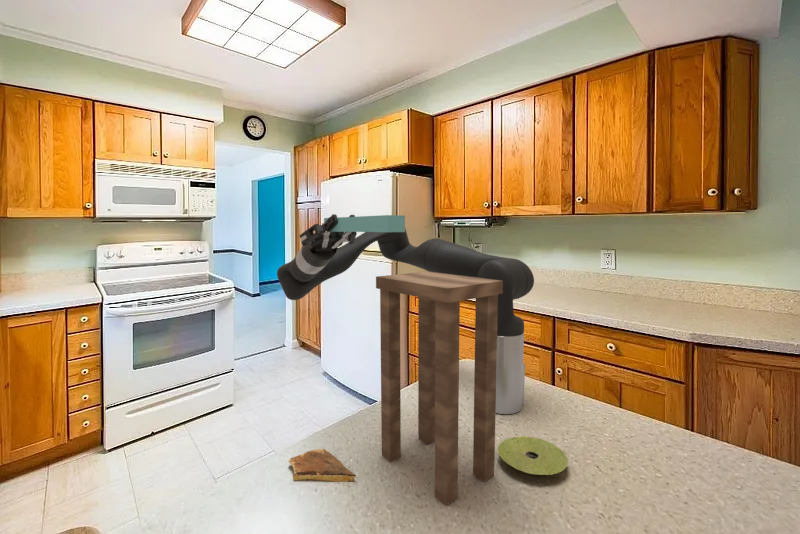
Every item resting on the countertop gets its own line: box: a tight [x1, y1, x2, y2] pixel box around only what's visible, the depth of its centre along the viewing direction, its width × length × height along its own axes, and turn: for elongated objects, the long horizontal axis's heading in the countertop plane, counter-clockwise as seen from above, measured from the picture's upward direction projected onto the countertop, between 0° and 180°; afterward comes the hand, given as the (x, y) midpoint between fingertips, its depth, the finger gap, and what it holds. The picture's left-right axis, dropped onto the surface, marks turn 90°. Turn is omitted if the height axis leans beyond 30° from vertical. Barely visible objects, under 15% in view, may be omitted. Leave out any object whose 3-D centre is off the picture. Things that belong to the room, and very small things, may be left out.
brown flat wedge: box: [288, 448, 357, 483], centre depth 63 cm, size 11×8×2 cm
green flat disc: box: [497, 436, 569, 476], centre depth 66 cm, size 11×11×2 cm
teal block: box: [323, 214, 406, 233], centre depth 79 cm, size 4×24×3 cm, turn 38°
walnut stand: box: [375, 271, 503, 507], centre depth 64 cm, size 12×17×32 cm
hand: (345, 218), depth 84 cm, fingers closed on teal block, 4 cm apart
